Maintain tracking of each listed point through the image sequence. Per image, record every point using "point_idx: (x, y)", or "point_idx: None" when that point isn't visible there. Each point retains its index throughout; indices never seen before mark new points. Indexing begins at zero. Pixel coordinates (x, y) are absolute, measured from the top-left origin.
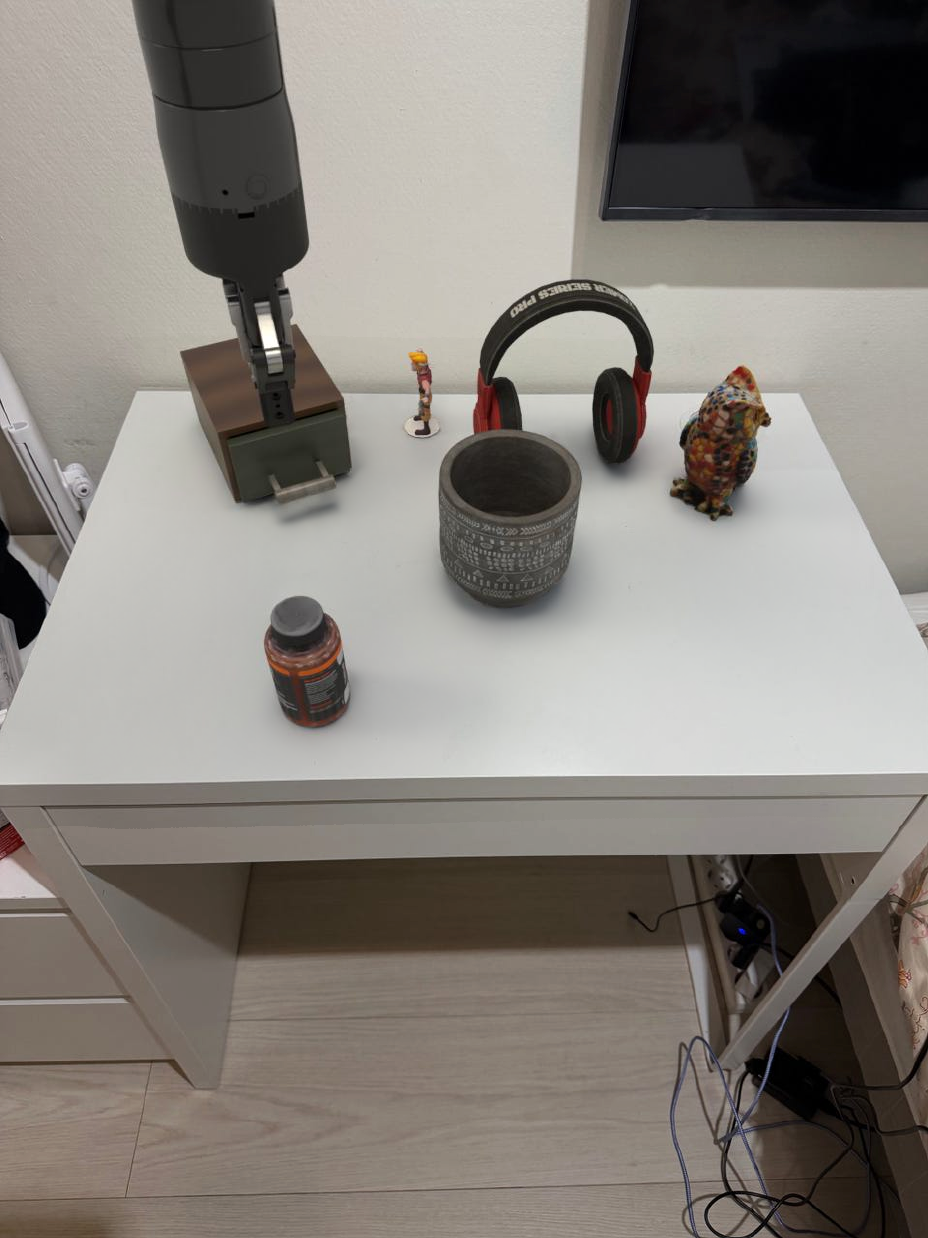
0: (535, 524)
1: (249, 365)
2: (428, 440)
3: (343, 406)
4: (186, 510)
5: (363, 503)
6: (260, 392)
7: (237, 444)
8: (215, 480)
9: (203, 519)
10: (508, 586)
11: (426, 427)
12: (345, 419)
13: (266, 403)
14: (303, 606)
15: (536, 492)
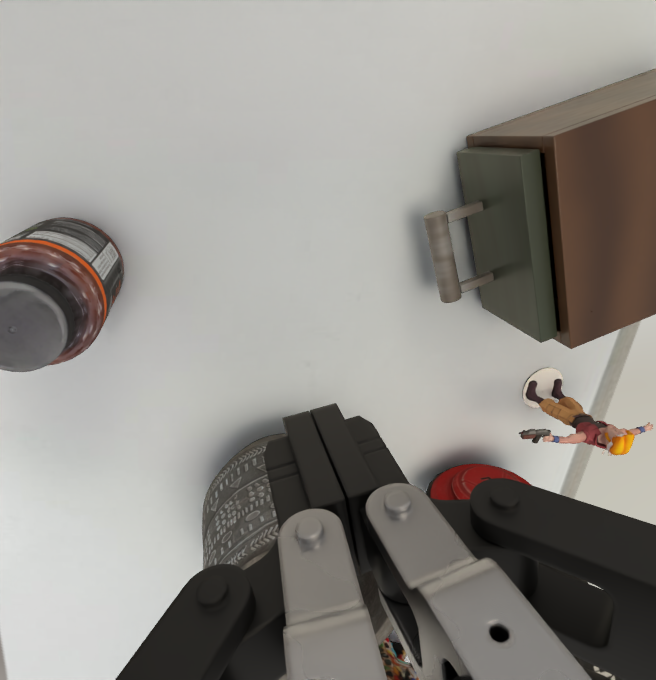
0: None
1: (387, 507)
2: (516, 395)
3: (560, 341)
4: (467, 51)
5: (425, 319)
6: (176, 604)
7: (522, 171)
8: (520, 100)
9: (442, 82)
10: (202, 529)
11: (533, 399)
12: None
13: (297, 473)
14: (35, 340)
15: None
